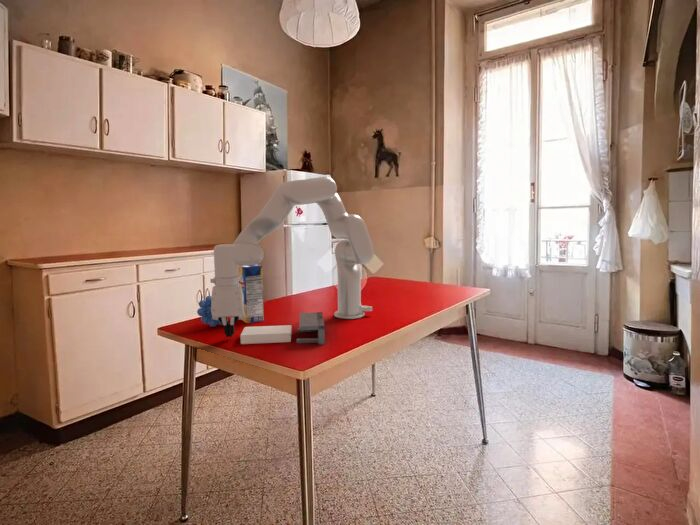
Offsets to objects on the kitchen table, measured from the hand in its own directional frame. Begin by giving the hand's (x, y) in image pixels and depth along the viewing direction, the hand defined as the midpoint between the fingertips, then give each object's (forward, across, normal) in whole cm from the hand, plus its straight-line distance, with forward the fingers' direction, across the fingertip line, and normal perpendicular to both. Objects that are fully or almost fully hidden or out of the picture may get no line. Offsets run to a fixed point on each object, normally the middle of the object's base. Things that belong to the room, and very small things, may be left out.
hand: (229, 335), depth 132 cm
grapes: (+2, -9, +17) cm, 19 cm away
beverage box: (+2, +3, +27) cm, 27 cm away
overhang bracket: (+1, +27, 0) cm, 27 cm away
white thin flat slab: (+1, +12, 0) cm, 12 cm away
